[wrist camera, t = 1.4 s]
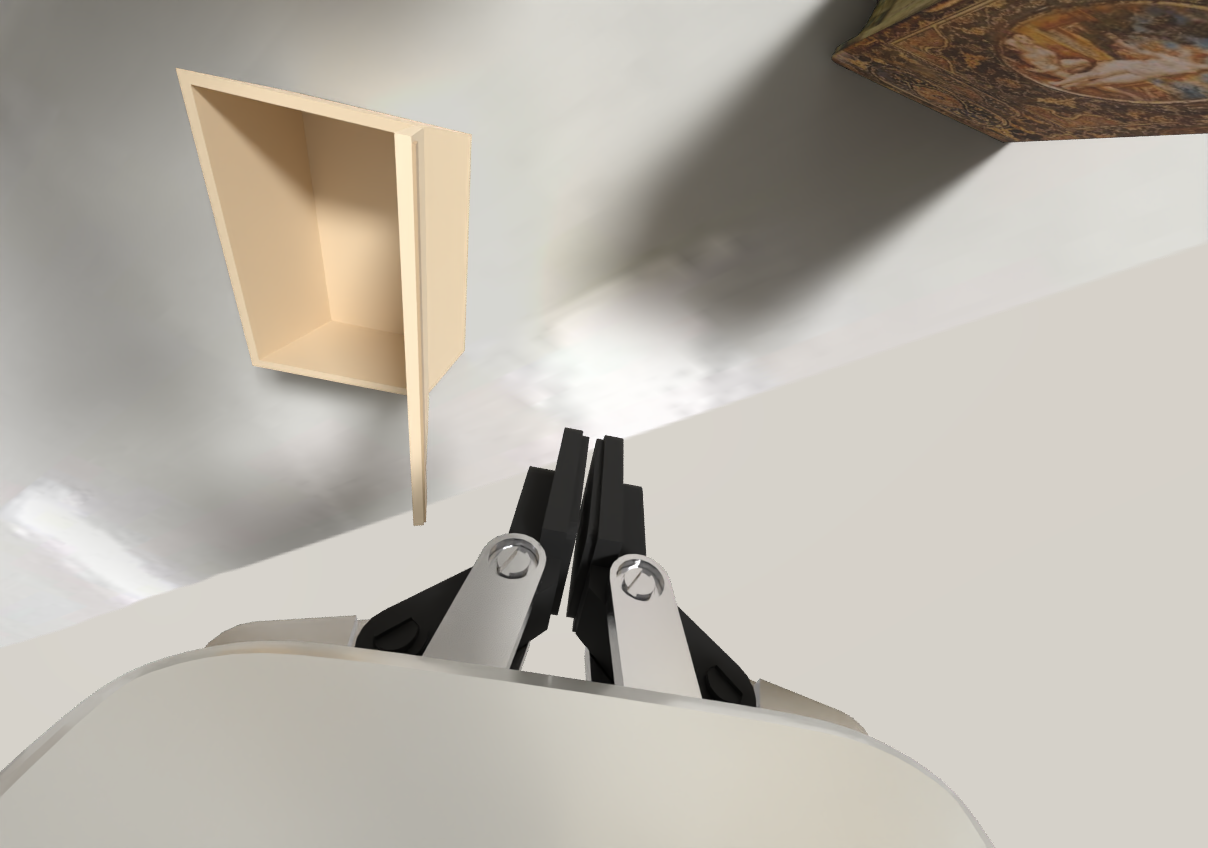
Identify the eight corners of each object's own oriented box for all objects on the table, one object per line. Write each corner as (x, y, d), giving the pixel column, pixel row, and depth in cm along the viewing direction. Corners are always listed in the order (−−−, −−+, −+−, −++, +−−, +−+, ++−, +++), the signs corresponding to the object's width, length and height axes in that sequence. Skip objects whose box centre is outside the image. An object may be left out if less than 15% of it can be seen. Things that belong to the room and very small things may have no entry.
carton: (296, 92, 32) (175, 67, 23) (471, 134, 33) (417, 125, 24) (329, 323, 41) (252, 365, 33) (464, 350, 42) (424, 398, 33)
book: (1083, 58, 29) (2363, -226, 8) (1017, 149, 32) (1816, 128, 10) (875, -50, 27) (1867, -880, 5) (824, 58, 29) (1341, -204, 8)
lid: (394, 132, 14) (415, 137, 14) (414, 125, 24) (426, 127, 24) (413, 525, 23) (426, 524, 23) (421, 401, 33) (430, 401, 33)
